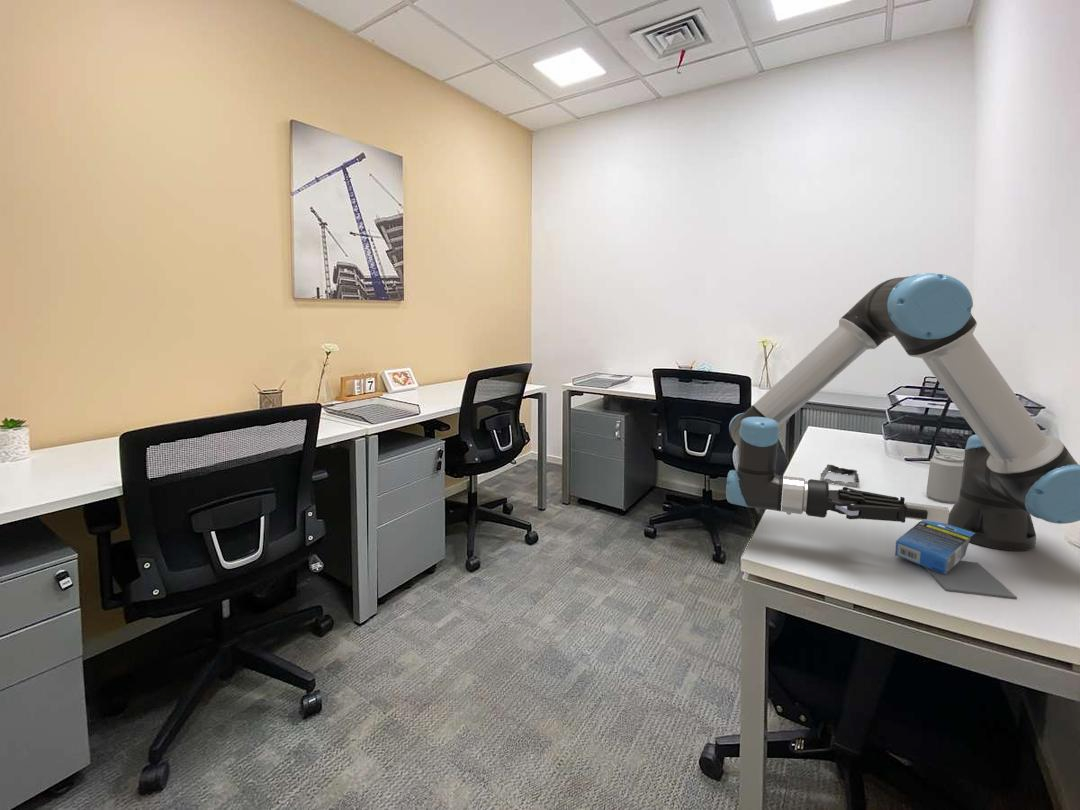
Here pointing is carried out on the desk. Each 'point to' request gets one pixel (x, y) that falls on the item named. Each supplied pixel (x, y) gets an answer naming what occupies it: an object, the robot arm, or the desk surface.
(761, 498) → the robot arm
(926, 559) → the label tape box
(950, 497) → the can
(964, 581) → the felt mat
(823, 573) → the desk surface
